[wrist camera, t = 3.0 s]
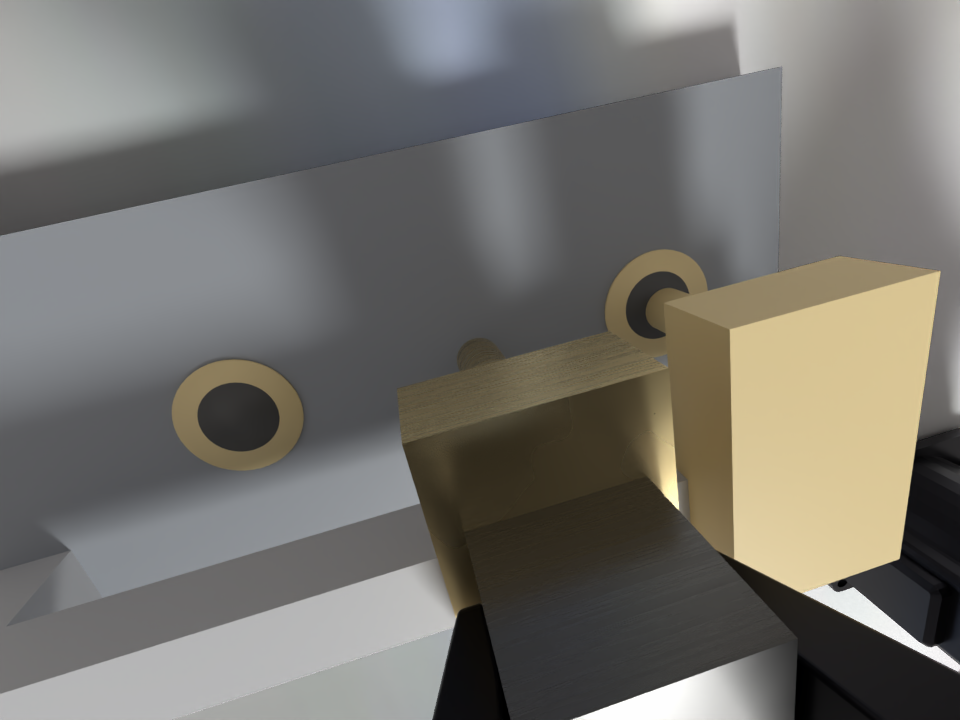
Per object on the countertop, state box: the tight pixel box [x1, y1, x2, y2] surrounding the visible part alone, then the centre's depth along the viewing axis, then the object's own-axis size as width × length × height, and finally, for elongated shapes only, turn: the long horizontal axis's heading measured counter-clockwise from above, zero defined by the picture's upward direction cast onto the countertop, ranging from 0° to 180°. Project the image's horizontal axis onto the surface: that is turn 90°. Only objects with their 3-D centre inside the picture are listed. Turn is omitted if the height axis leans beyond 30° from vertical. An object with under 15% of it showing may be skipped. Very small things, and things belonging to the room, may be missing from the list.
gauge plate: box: [0, 67, 941, 720], centre depth 11 cm, size 24×12×8 cm, turn 102°
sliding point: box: [397, 331, 798, 720], centre depth 10 cm, size 4×6×9 cm, turn 12°
